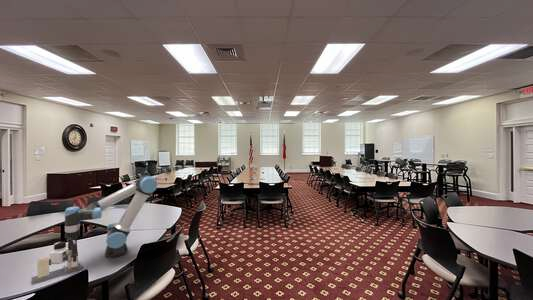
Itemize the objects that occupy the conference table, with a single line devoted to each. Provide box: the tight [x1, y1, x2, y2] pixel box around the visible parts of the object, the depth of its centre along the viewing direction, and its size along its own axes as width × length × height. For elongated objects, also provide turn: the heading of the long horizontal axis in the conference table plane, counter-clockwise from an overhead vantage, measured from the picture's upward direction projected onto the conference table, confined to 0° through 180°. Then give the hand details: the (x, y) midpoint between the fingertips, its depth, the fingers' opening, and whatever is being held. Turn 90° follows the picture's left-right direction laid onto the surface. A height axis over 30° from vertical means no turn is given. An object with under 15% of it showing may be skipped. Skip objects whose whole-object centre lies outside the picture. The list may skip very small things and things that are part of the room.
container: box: [49, 241, 68, 264], centre depth 165 cm, size 8×8×13 cm
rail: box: [31, 257, 84, 285], centre depth 148 cm, size 24×6×12 cm, turn 138°
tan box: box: [65, 250, 79, 270], centre depth 152 cm, size 6×4×10 cm, turn 137°
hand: (72, 262), depth 153 cm, fingers open, 13 cm apart
